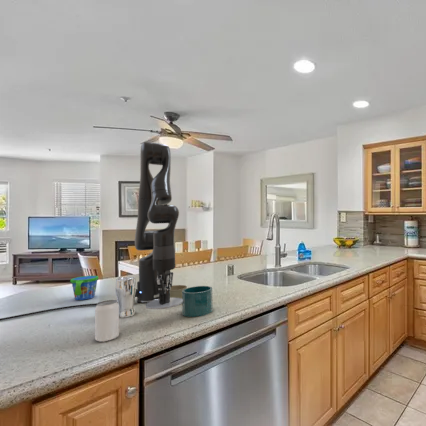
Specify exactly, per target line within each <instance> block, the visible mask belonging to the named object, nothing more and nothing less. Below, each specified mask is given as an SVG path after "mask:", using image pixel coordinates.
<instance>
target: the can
mask: <svg viewBox="0 0 426 426" xmlns="http://www.w3.org/2000/svg"><path fill="white" fill-rule="evenodd" d="M119 335H120V318H119V305H118V303H117V299H107V300H102V301H99V302H97V305H95V309H94V337H95V341H96V342H98V343H104V342H105V343H106V342H110V341H113V340H115V339H117V338H118V337H119Z"/></svg>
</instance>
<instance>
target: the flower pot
mask: <svg viewBox="0 0 426 426" xmlns="http://www.w3.org/2000/svg"><path fill="white" fill-rule="evenodd" d="M186 288H188V285H185V284H175V285H174V284H173V285H172V287H171V289H170V298H181V299H182V290H184V289H186Z"/></svg>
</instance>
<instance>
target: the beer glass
mask: <svg viewBox="0 0 426 426" xmlns="http://www.w3.org/2000/svg"><path fill="white" fill-rule="evenodd" d="M136 289H137V282H136V276H123V277H119V278H117V279H116V280H115V296H116V300H117V302H118V305H119V319H121V318H123V319H125V318H129V317H132V316H134V315H135V314H136V310H135V300H136V297H135V294H136Z"/></svg>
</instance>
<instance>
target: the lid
mask: <svg viewBox="0 0 426 426" xmlns="http://www.w3.org/2000/svg"><path fill="white" fill-rule="evenodd" d="M161 290H162V289H161ZM182 303H183V299H181V298H170V289H169V288H166V303H165V304H160V303H159V299H158V300H154V301H151V302H148V303H145V305H144V307H145V308H146V309H147V310H165V309H171V308H174V307H178V306H180V305H182Z"/></svg>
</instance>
